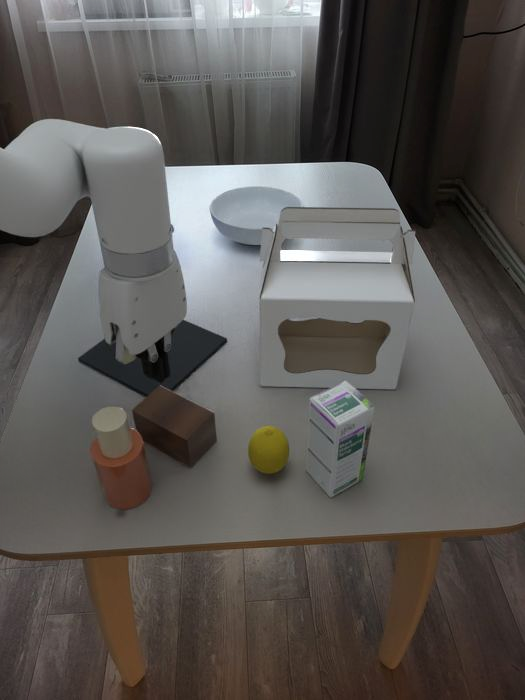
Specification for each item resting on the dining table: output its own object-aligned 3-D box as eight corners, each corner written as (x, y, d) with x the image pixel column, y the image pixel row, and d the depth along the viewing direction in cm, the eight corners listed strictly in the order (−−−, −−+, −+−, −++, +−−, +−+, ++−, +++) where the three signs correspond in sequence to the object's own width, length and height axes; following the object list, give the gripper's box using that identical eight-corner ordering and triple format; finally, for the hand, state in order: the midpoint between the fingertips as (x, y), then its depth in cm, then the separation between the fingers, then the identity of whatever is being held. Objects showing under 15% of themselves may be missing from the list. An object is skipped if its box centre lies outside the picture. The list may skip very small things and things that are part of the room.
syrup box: (330, 499, 73) (340, 426, 64) (303, 469, 77) (309, 395, 68) (363, 479, 76) (377, 406, 66) (335, 451, 79) (345, 377, 70)
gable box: (258, 387, 89) (256, 230, 71) (261, 335, 99) (260, 186, 81) (397, 390, 89) (432, 233, 70) (386, 337, 99) (414, 188, 80)
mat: (78, 361, 94) (77, 358, 94) (150, 308, 106) (150, 305, 105) (159, 403, 87) (158, 400, 86) (227, 341, 98) (227, 338, 97)
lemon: (276, 491, 74) (277, 453, 69) (241, 474, 76) (239, 436, 71) (295, 462, 78) (297, 424, 73) (260, 447, 80) (260, 409, 75)
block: (137, 438, 81) (131, 410, 78) (164, 412, 85) (160, 384, 81) (191, 468, 77) (187, 440, 73) (217, 440, 81) (214, 412, 77)
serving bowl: (296, 261, 118) (298, 232, 114) (201, 252, 121) (198, 224, 116) (308, 215, 133) (309, 188, 129) (223, 209, 136) (221, 182, 132)
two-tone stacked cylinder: (108, 496, 77) (39, 486, 64) (150, 418, 79) (91, 393, 66) (143, 518, 75) (78, 512, 62) (185, 437, 77) (131, 415, 64)
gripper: (158, 214, 66) (172, 334, 78) (59, 271, 56) (93, 398, 68) (208, 232, 63) (215, 354, 75) (113, 296, 53) (138, 424, 65)
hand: (157, 375), depth 71 cm, fingers closed
